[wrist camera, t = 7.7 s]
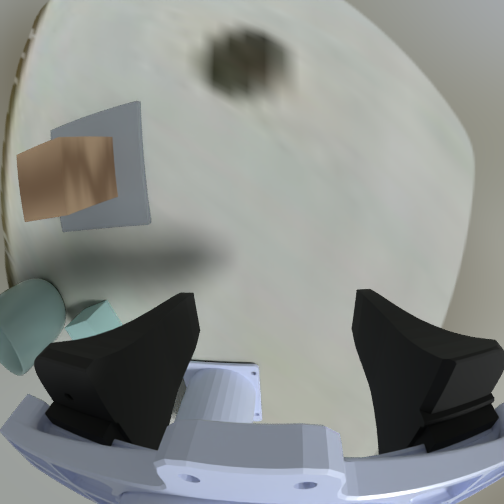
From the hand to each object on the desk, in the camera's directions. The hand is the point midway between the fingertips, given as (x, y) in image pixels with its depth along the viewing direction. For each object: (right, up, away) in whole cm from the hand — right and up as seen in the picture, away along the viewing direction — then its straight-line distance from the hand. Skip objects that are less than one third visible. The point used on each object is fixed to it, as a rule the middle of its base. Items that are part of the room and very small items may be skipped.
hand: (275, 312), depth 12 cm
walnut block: (-14, +9, +8) cm, 19 cm away
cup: (-25, -3, +14) cm, 29 cm away
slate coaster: (-14, +10, +9) cm, 19 cm away
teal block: (-16, -5, +14) cm, 22 cm away
